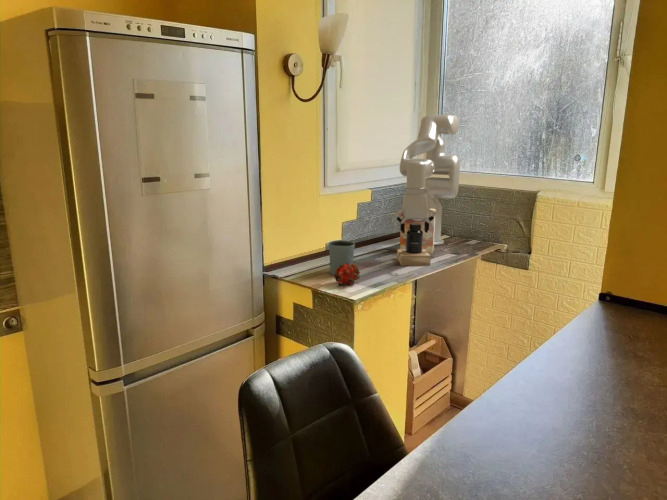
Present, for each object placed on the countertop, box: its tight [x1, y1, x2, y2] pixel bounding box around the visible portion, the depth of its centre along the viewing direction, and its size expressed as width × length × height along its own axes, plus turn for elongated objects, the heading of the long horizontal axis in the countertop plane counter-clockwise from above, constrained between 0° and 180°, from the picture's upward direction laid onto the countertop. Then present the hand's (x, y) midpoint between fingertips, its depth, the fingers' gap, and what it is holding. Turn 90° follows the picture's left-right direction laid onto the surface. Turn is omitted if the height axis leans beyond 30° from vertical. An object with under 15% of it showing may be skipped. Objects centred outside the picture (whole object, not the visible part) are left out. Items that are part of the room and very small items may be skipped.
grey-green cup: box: [328, 239, 356, 276], centre depth 203 cm, size 10×10×12 cm
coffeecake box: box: [399, 209, 436, 255], centre depth 236 cm, size 15×7×20 cm, turn 76°
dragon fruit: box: [333, 262, 361, 286], centre depth 189 cm, size 8×8×12 cm
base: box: [396, 248, 432, 266], centre depth 220 cm, size 12×12×4 cm
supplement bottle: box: [406, 223, 423, 254], centre depth 218 cm, size 7×7×12 cm
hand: (414, 232), depth 218 cm, fingers open, 9 cm apart
